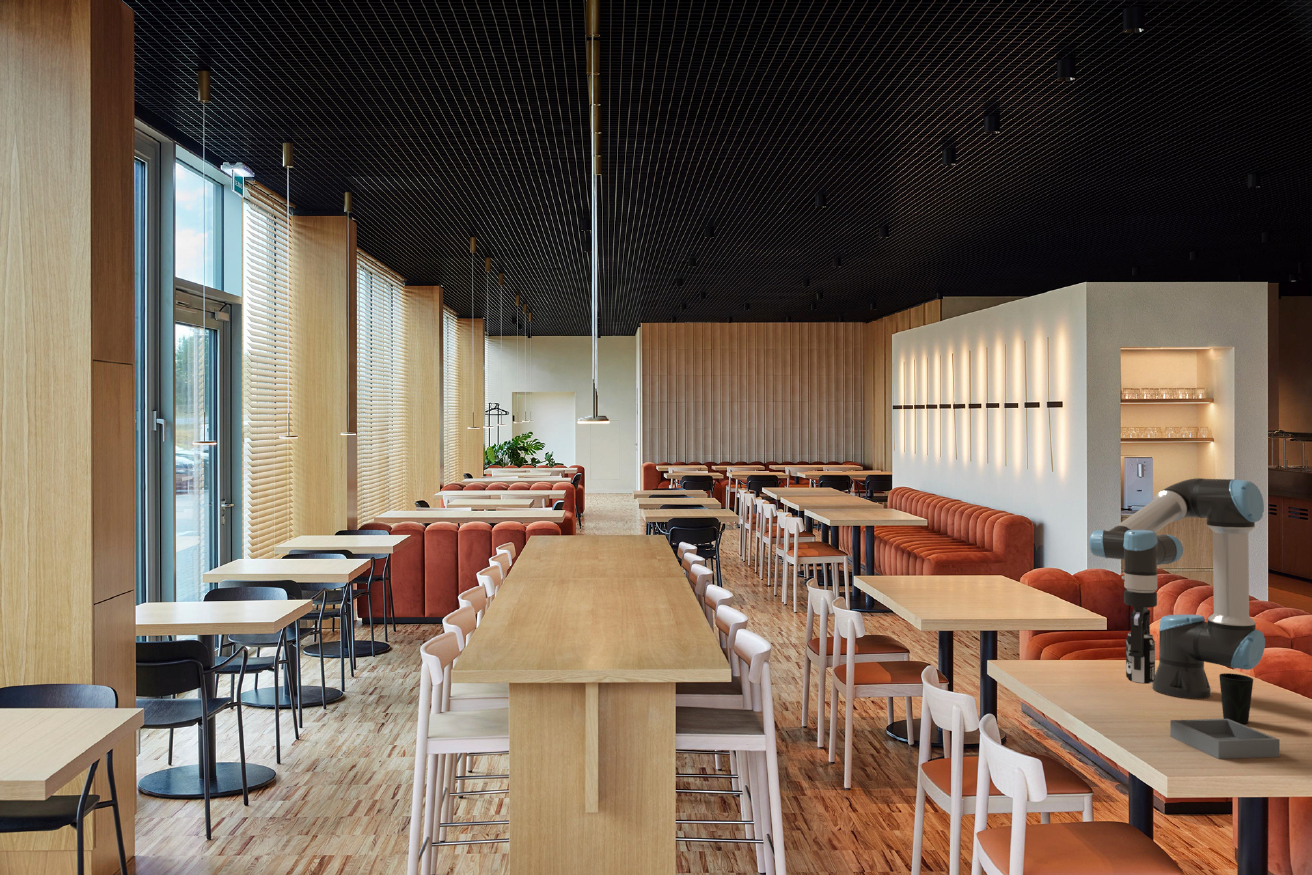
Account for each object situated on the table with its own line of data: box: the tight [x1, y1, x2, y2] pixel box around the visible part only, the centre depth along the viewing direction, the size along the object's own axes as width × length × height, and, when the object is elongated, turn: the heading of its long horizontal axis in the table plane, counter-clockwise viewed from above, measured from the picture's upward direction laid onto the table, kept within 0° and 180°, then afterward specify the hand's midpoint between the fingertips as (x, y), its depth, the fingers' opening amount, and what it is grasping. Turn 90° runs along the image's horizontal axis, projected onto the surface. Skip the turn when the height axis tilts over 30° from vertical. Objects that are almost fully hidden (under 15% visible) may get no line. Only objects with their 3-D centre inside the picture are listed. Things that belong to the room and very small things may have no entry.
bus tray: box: [1170, 718, 1280, 760], centre depth 216 cm, size 16×16×4 cm
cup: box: [1218, 672, 1254, 726], centre depth 237 cm, size 8×8×12 cm
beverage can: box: [1125, 631, 1156, 685], centre depth 228 cm, size 7×7×12 cm
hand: (1140, 678), depth 228 cm, fingers closed on beverage can, 7 cm apart
